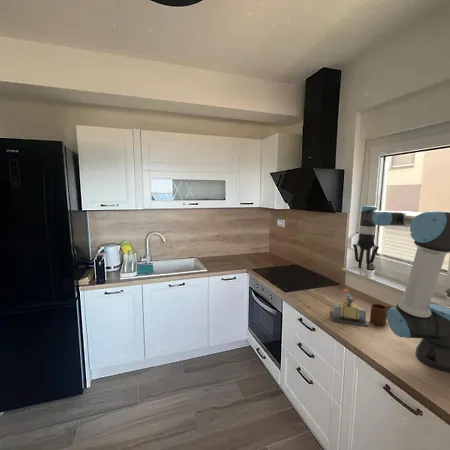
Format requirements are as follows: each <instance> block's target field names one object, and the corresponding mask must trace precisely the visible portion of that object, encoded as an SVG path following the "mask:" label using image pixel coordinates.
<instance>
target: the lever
mask: <svg viewBox="0 0 450 450" xmlns="http://www.w3.org/2000/svg"><path fill="white" fill-rule="evenodd" d="M342 291H343V293H344V295H345V296H346V302H348V301H349V302H352V303H355V302H354V300H355V298H354V296H352V295H351V293H350V292H351V291H350V290H349V289H348V288H343V289H342Z"/></svg>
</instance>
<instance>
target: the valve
mask: <svg viewBox="0 0 450 450" xmlns="http://www.w3.org/2000/svg"><path fill="white" fill-rule="evenodd" d="M332 306H333V307H332V310H330V314H331V318H332V321H333V322H334V323H342V324H347V325H352V326H353V325H354V326H361V327H365V328H366V327H369V324H368V322H367V318H366V316H367V310H366V309H365V307H362V306H361V307H360V306H359V305H358V304H356V303H355V302H349V301H342V302H339V303H333V305H332Z"/></svg>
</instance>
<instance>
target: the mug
mask: <svg viewBox="0 0 450 450" xmlns="http://www.w3.org/2000/svg"><path fill="white" fill-rule="evenodd" d="M389 308H391V307H390V305H387V304H386V305H384V304H379V303H372V304H371V308H370V313H369V314H370V315H369V321H370V323H371V324H373V325H374V326H375V325H376V326H378V327H379V326H380V327H383V326H386V325H387V311H388V309H389Z"/></svg>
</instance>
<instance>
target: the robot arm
mask: <svg viewBox="0 0 450 450" xmlns="http://www.w3.org/2000/svg"><path fill="white" fill-rule="evenodd" d="M376 226H378V227H388V226H389V227H390V226H392V227H393V226H396V227H406V228H409V231H410V236H411V238H412V240H414V242H413V243H414V245H415V246H416V248H417V249H416V252H415V256H414V259H413V262H412V266H411V269H410V273H409V276H408V280H407V283H406V286H405V290H404V292H403V296H402V297H403V298H401V299H398V300H397V302H396V305H395V307H394V306H393V307H390V308H389V309H388V311H387V319H386V321H387V323H388V326H389V328H390V330H391V332H392V333H393V334H394V335H396V336H397V337H399V338H405V339H420V341H419V343H418V345H417V346H416V347H415V348H416V349H415V356H416V357H417V359H419V360H420V361H421V362H423V363H424V364H425V365H428V366H430V367H431V368H434V369H436V370H439V371H443V372H447V373H450V308H448V307H447V306H443V305H440V304H435V303H431V302H432V301H431V300H432V297H433V294H434V292H435V289H436V286H437V282H438V279H439V276H440V273H441V271H442V267H443V264H444V262H445V258H446V256H447V255H448V254H450V210H449V211H447V210H426V211H425V210H424V211H423V212H414V211H410V210H409V211H408V210H407V211H404V210H403V211H399V210H398V211H395V210H378V207H377V206H376V205H375V206H374V205H363V206H362V207H361V212H360V223H359V234H358V241H356V243H353V244H352V247H353V250H354V260H355V262H357V263H358V264H357V265H358V266H357V267H358V269H359V275H360V276H361V275H364V276H366V275H367V270H369V268H370V264H373V263H374V261H375V258H376V255H377V251H379V248H380V247H379V246H378V245H376V244H375V233H376ZM358 248H360V249H359V252H358ZM372 248H373V249H372ZM371 249H372V252H371ZM364 252H365V254H366V255H365V262H363V258H364ZM358 253H359V254H358ZM370 253H371V254H370ZM370 255H371V256H370Z"/></svg>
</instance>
